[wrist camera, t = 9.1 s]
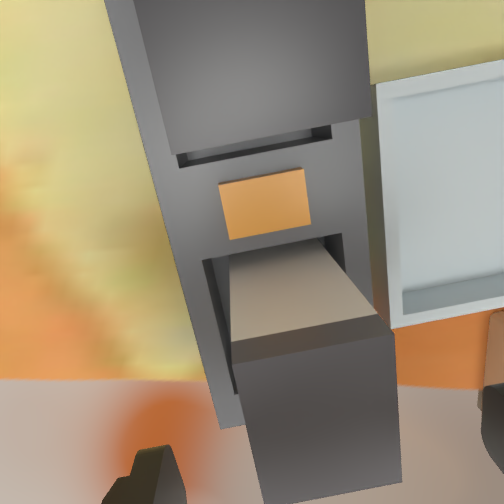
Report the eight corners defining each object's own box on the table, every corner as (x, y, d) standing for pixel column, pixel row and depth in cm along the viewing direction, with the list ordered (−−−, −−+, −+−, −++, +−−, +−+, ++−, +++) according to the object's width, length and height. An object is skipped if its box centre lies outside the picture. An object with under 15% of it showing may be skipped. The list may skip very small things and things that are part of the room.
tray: (563, 49, 16) (629, 34, 14) (542, 267, 20) (592, 289, 17) (351, 90, 16) (376, 83, 14) (368, 301, 20) (391, 329, 17)
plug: (311, 231, 17) (394, 333, 9) (323, 323, 19) (402, 482, 10) (228, 247, 17) (231, 365, 9) (247, 337, 19) (265, 508, 10)
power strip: (112, -56, 14) (-113, -418, 5) (306, -92, 14) (465, -524, 5) (221, 373, 21) (217, 576, 11) (352, 348, 21) (455, 529, 11)
